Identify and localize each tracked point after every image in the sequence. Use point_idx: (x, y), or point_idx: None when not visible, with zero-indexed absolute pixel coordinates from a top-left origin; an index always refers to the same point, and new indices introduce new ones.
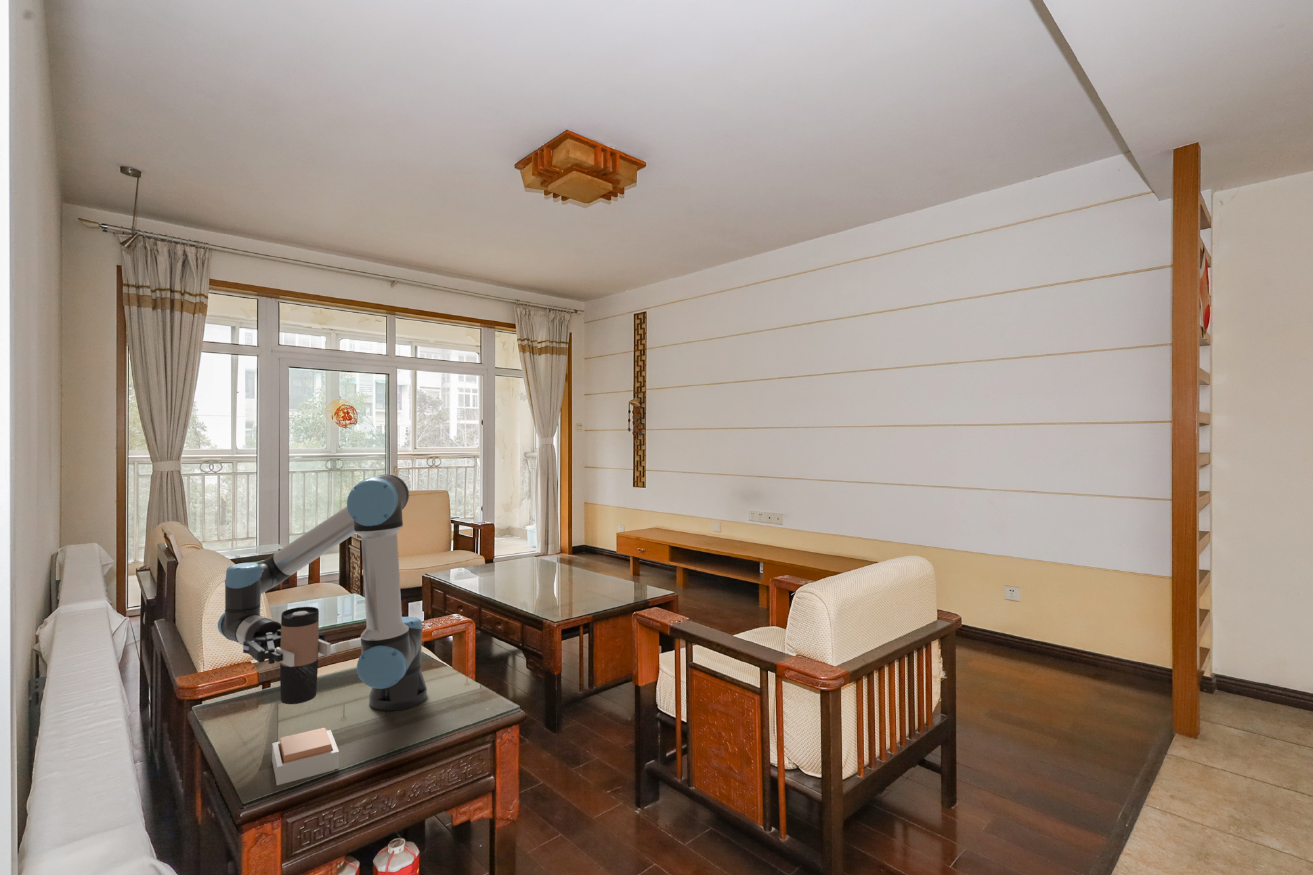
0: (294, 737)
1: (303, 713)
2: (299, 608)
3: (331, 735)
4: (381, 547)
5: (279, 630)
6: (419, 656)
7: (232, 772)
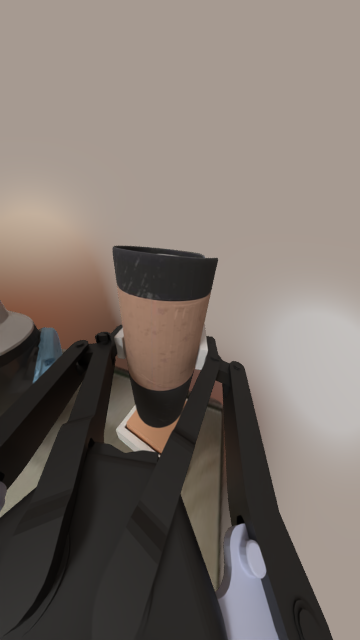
0: (159, 434)
1: None
2: (131, 255)
3: (129, 413)
4: None
5: (31, 573)
6: None
7: (213, 505)
